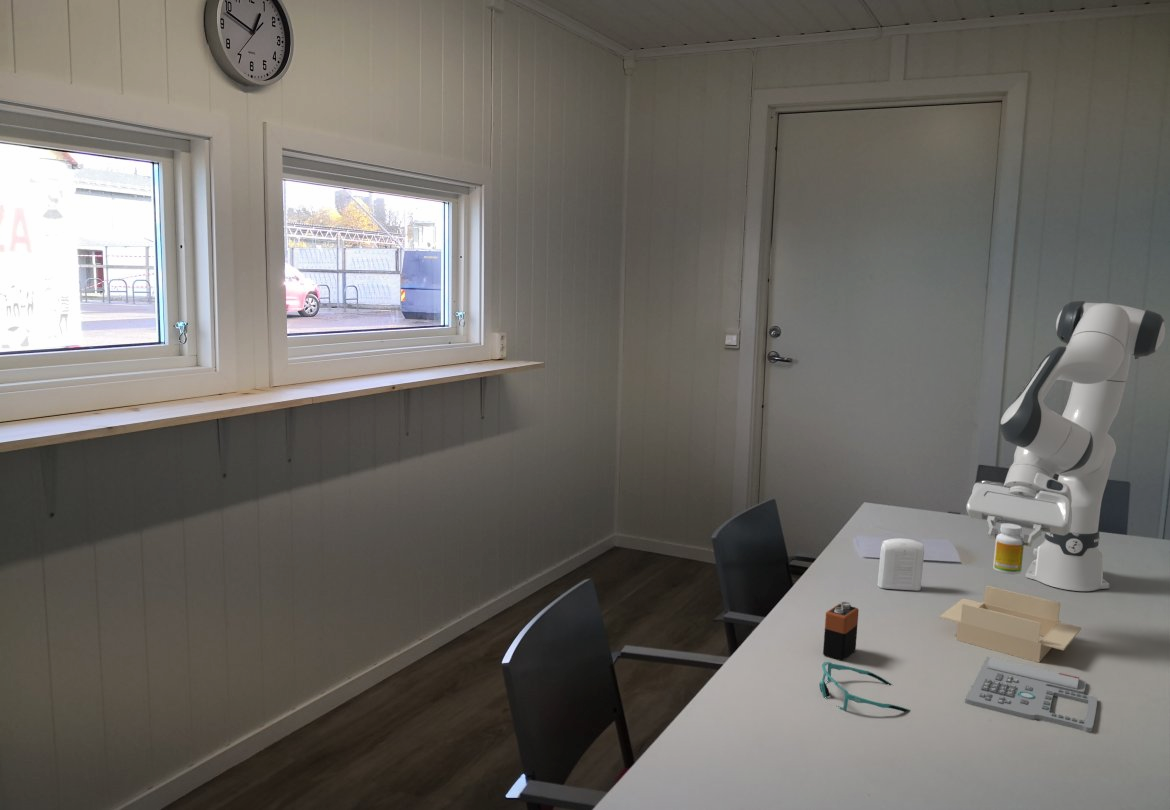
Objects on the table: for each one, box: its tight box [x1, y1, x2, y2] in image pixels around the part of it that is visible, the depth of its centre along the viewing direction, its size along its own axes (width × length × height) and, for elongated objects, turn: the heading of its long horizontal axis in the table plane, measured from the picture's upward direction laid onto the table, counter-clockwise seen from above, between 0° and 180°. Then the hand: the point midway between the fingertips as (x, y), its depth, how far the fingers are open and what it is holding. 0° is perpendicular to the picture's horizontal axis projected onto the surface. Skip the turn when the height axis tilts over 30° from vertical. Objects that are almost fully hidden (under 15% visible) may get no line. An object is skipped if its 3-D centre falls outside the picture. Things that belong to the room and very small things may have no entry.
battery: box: [822, 601, 860, 661], centre depth 182 cm, size 4×7×10 cm, turn 142°
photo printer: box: [877, 537, 925, 592], centre depth 222 cm, size 10×4×12 cm, turn 86°
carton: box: [939, 585, 1083, 663], centre depth 191 cm, size 16×24×8 cm, turn 50°
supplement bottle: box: [992, 523, 1025, 575], centre depth 190 cm, size 5×5×10 cm
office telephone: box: [964, 656, 1098, 734], centre depth 167 cm, size 23×3×20 cm
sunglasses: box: [818, 661, 911, 713], centre depth 164 cm, size 14×15×5 cm
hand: (1009, 541), depth 189 cm, fingers closed on supplement bottle, 5 cm apart
